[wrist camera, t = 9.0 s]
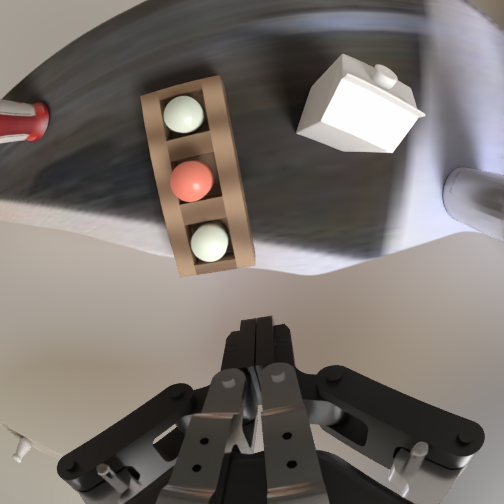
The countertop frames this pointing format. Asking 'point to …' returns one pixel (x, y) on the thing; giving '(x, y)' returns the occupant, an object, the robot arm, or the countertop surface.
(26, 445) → the salt shaker
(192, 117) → the pale green sphere
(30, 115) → the liquor
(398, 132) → the milk carton
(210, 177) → the red ball
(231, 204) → the wooden ball rack
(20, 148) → the countertop surface
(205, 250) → the cream white sphere
